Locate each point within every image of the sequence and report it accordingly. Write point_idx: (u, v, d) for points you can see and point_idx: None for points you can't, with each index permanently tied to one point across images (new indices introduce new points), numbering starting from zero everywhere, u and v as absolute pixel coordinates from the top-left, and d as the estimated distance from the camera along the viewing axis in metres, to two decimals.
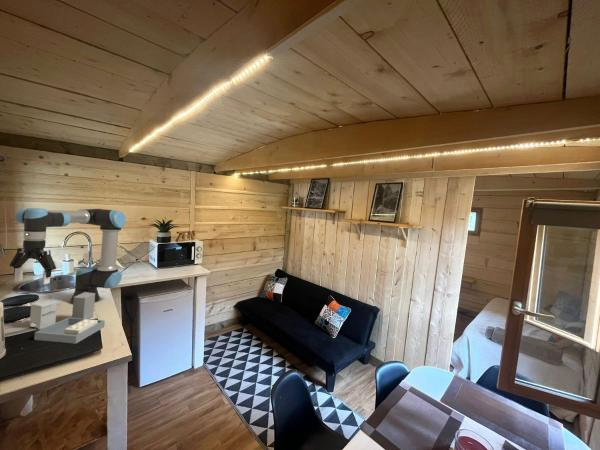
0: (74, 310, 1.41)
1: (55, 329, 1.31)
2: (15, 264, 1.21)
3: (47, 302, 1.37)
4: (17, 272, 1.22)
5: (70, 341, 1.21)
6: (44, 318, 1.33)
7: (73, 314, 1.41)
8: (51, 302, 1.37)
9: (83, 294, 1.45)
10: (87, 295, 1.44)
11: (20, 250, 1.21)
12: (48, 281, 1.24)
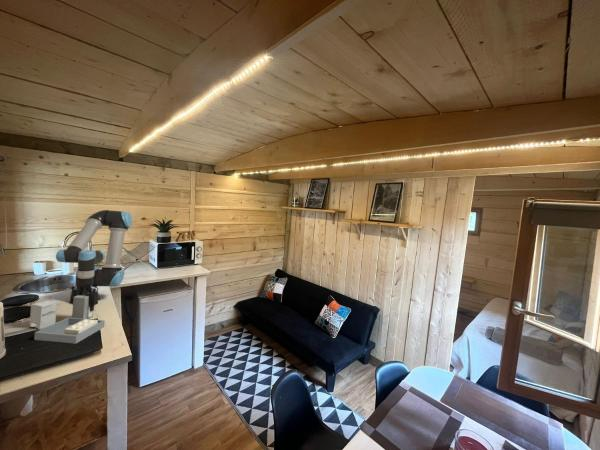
0: (74, 310, 1.41)
1: (55, 329, 1.31)
2: None
3: (47, 302, 1.37)
4: None
5: (70, 341, 1.21)
6: (44, 318, 1.33)
7: (73, 314, 1.41)
8: (51, 302, 1.37)
9: (83, 294, 1.45)
10: None
11: (74, 287, 1.43)
12: (91, 314, 1.46)
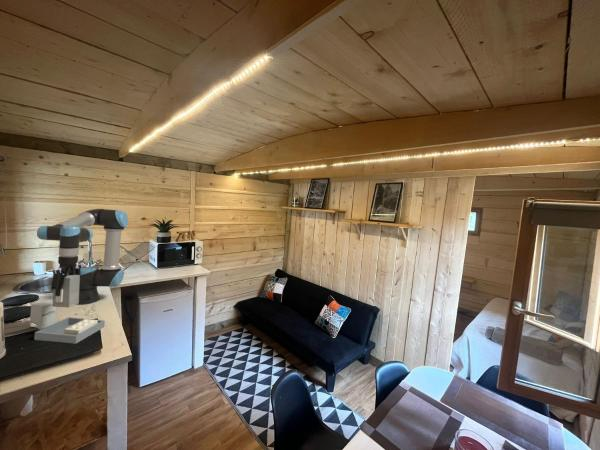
0: None
1: (55, 329, 1.31)
2: None
3: (47, 302, 1.37)
4: None
5: (70, 341, 1.21)
6: (44, 318, 1.33)
7: None
8: (51, 302, 1.37)
9: (69, 275, 1.30)
10: None
11: None
12: (59, 300, 1.25)
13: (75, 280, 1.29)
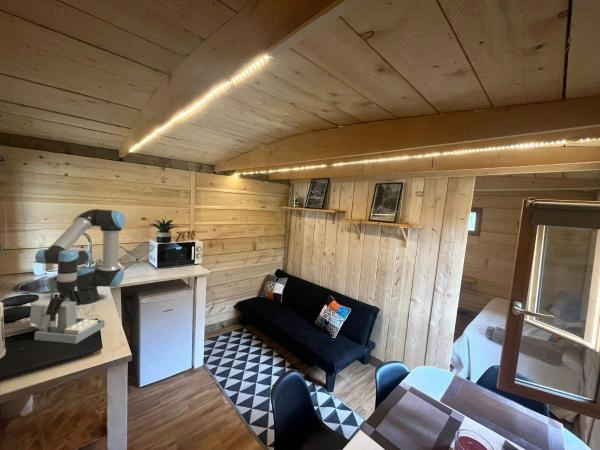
0: None
1: None
2: None
3: (47, 302, 1.37)
4: None
5: (70, 341, 1.21)
6: (44, 318, 1.33)
7: None
8: None
9: (66, 302, 1.30)
10: None
11: (74, 288, 1.35)
12: (54, 325, 1.24)
13: (71, 308, 1.29)
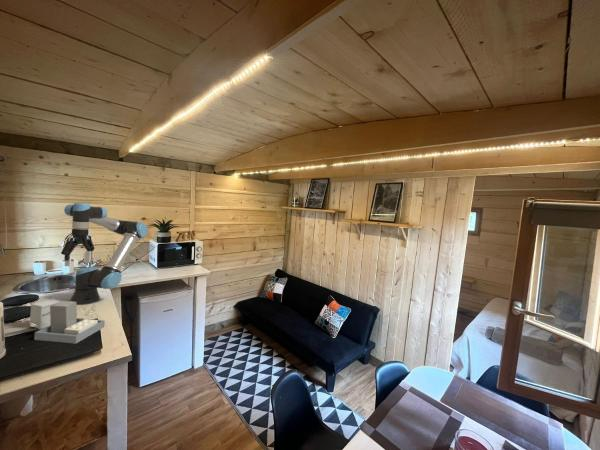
0: None
1: None
2: None
3: (47, 302, 1.37)
4: (86, 254, 1.56)
5: (70, 341, 1.21)
6: (44, 318, 1.33)
7: None
8: (51, 302, 1.37)
9: (66, 302, 1.30)
10: (59, 304, 1.27)
11: None
12: (68, 264, 1.42)
13: (71, 308, 1.29)
